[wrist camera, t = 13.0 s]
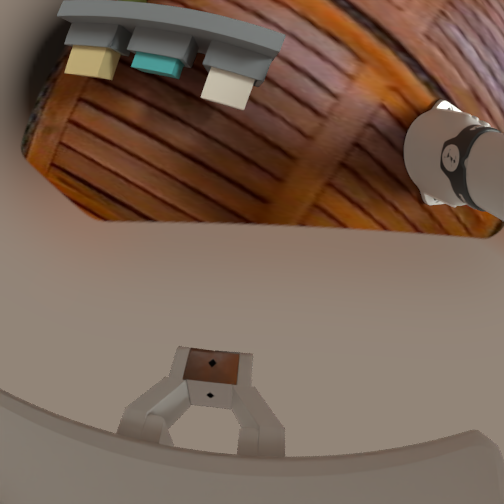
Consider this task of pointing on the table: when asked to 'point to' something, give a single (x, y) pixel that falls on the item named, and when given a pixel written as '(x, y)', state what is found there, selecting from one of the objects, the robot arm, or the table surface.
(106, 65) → the button mustard
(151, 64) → the button teal
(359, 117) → the table surface
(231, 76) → the button cream
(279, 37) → the control panel
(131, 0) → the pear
